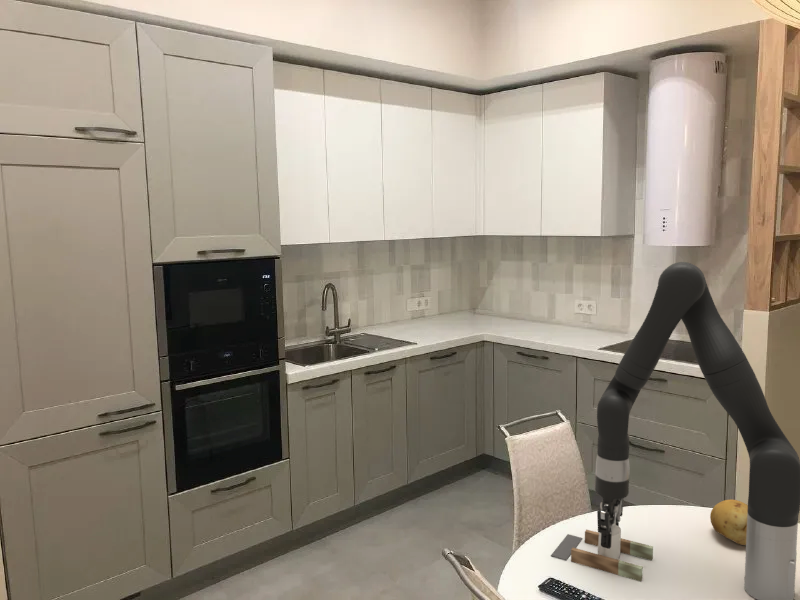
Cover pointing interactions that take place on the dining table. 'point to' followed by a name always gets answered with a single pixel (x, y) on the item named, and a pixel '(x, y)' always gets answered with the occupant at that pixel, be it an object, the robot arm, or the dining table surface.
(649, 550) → the walnut channel
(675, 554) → the dining table surface
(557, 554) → the plate
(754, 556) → the robot arm
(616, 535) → the eye dropper bottle
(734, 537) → the potato
